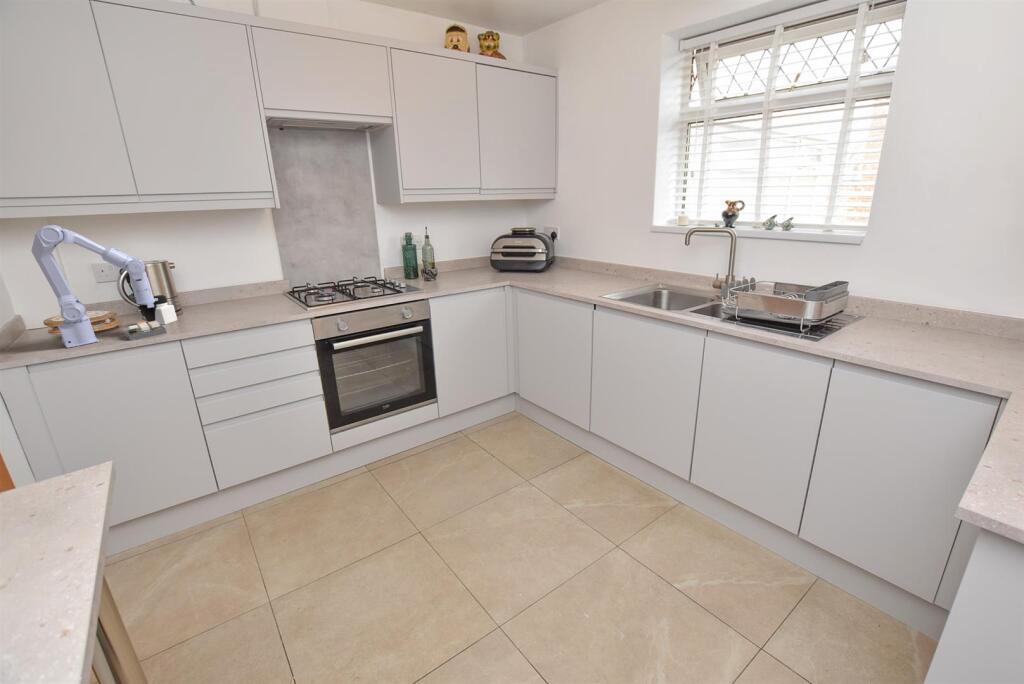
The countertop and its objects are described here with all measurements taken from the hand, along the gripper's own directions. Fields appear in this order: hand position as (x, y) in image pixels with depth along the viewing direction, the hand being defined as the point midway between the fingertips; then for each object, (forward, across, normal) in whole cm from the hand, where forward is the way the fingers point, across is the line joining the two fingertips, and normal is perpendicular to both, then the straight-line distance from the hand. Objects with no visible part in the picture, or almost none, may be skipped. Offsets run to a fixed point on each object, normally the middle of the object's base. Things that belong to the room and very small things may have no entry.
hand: (151, 322), depth 192 cm
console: (+4, -3, +4) cm, 6 cm away
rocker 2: (0, -3, +4) cm, 5 cm away
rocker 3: (0, -3, 0) cm, 3 cm away
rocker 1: (0, -3, +7) cm, 8 cm away
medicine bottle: (+4, +14, -6) cm, 16 cm away
